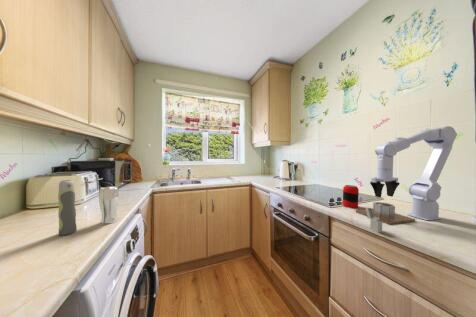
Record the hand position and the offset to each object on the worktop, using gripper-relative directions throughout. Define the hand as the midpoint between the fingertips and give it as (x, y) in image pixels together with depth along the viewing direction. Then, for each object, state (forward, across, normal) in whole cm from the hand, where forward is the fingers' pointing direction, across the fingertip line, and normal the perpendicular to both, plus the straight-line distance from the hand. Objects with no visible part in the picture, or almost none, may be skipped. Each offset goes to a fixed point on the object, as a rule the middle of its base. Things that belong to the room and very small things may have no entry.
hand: (384, 196), depth 85 cm
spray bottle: (+10, +137, -13) cm, 138 cm away
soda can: (+10, +2, -17) cm, 20 cm away
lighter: (+10, +19, +10) cm, 24 cm away
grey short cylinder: (+9, 0, 0) cm, 9 cm away
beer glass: (+10, +127, -22) cm, 129 cm away
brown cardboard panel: (+10, 0, 0) cm, 10 cm away
